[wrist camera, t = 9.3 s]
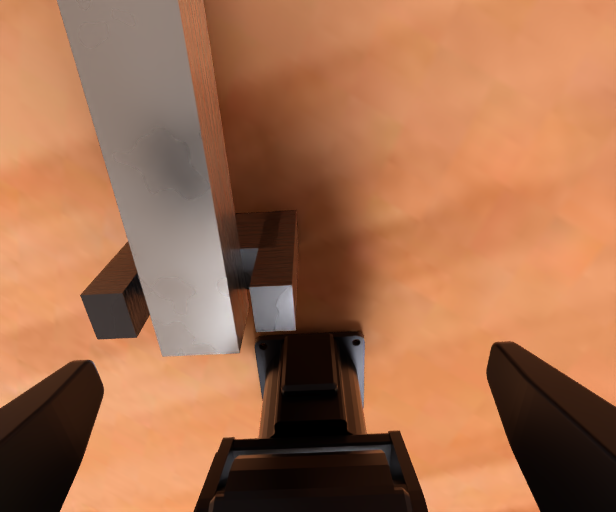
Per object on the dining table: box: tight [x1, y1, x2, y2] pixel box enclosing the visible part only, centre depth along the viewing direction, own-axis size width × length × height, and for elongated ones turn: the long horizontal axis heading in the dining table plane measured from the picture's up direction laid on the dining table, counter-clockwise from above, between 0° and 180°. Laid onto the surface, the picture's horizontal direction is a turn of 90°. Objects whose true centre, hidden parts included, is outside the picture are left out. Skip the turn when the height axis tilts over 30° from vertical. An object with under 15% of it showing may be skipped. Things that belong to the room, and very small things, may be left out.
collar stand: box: [80, 210, 299, 339], centre depth 13 cm, size 20×8×7 cm, turn 3°
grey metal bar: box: [57, 0, 249, 356], centre depth 11 cm, size 22×3×3 cm, turn 3°
